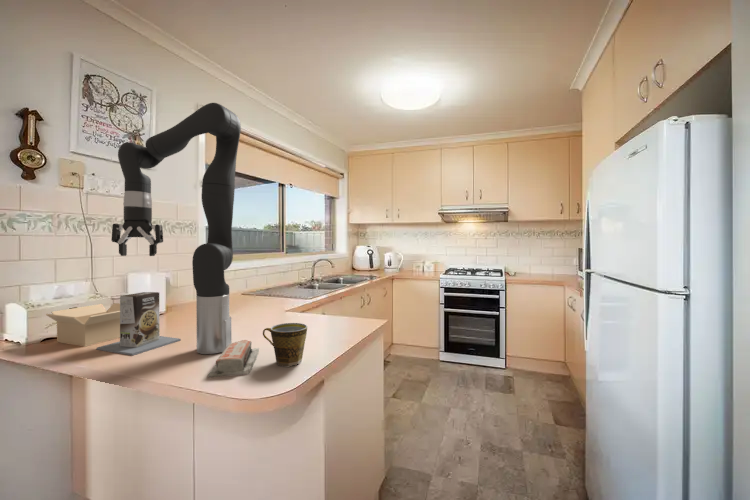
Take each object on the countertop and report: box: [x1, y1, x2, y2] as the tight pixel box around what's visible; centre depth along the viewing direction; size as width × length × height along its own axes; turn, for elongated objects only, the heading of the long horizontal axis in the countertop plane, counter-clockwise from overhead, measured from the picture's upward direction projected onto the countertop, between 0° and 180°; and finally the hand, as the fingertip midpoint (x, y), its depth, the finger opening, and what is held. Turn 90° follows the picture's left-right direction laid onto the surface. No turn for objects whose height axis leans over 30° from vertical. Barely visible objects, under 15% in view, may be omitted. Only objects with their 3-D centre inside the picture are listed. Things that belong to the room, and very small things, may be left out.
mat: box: [96, 335, 181, 356], centre depth 107 cm, size 16×16×1 cm
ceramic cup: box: [262, 322, 308, 367], centre depth 93 cm, size 13×10×10 cm
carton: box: [45, 302, 120, 347], centre depth 115 cm, size 20×21×10 cm
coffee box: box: [119, 291, 161, 348], centre depth 107 cm, size 9×6×16 cm
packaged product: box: [207, 339, 260, 378], centre depth 92 cm, size 18×5×10 cm
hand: (137, 255), depth 108 cm, fingers open, 8 cm apart
